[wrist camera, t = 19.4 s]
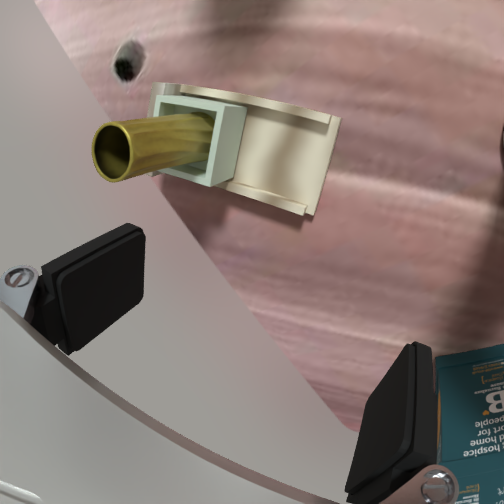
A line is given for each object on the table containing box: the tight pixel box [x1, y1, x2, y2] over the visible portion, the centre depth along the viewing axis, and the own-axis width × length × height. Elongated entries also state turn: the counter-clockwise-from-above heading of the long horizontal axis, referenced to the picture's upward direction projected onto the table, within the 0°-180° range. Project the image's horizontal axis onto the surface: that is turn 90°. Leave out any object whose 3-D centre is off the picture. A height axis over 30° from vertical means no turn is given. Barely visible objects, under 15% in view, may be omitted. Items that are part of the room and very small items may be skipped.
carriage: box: [153, 95, 248, 187], centre depth 36 cm, size 9×9×6 cm
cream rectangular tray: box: [145, 82, 342, 216], centre depth 36 cm, size 22×12×6 cm, turn 77°
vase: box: [92, 112, 215, 182], centre depth 30 cm, size 6×6×14 cm
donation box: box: [435, 344, 504, 504], centre depth 26 cm, size 16×16×28 cm
